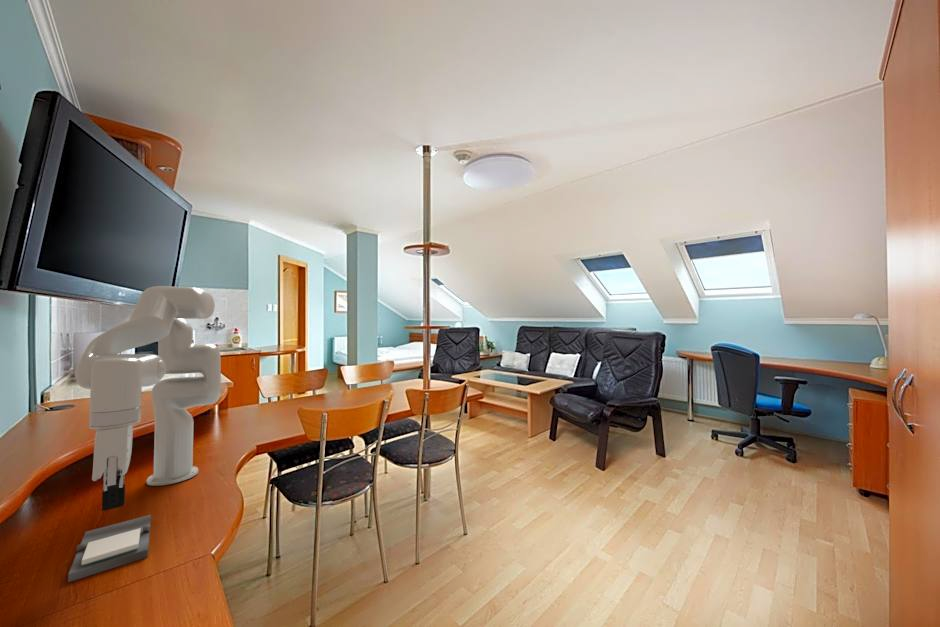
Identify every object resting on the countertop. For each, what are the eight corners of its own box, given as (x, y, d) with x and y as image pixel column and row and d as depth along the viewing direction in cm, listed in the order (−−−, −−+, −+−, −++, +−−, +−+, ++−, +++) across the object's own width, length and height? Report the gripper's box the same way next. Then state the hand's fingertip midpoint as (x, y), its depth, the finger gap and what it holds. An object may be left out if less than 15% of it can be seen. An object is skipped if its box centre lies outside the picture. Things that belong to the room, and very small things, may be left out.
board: (84, 538, 79) (84, 526, 79) (151, 520, 86) (151, 509, 87) (67, 582, 66) (67, 567, 66) (148, 556, 73) (148, 543, 73)
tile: (81, 560, 68) (81, 566, 68) (138, 543, 73) (138, 549, 73) (88, 542, 73) (88, 548, 73) (140, 527, 79) (140, 533, 78)
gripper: (95, 413, 76) (92, 499, 75) (82, 429, 64) (79, 530, 64) (142, 408, 81) (140, 488, 80) (138, 421, 69) (136, 515, 69)
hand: (113, 506), depth 72 cm, fingers closed
